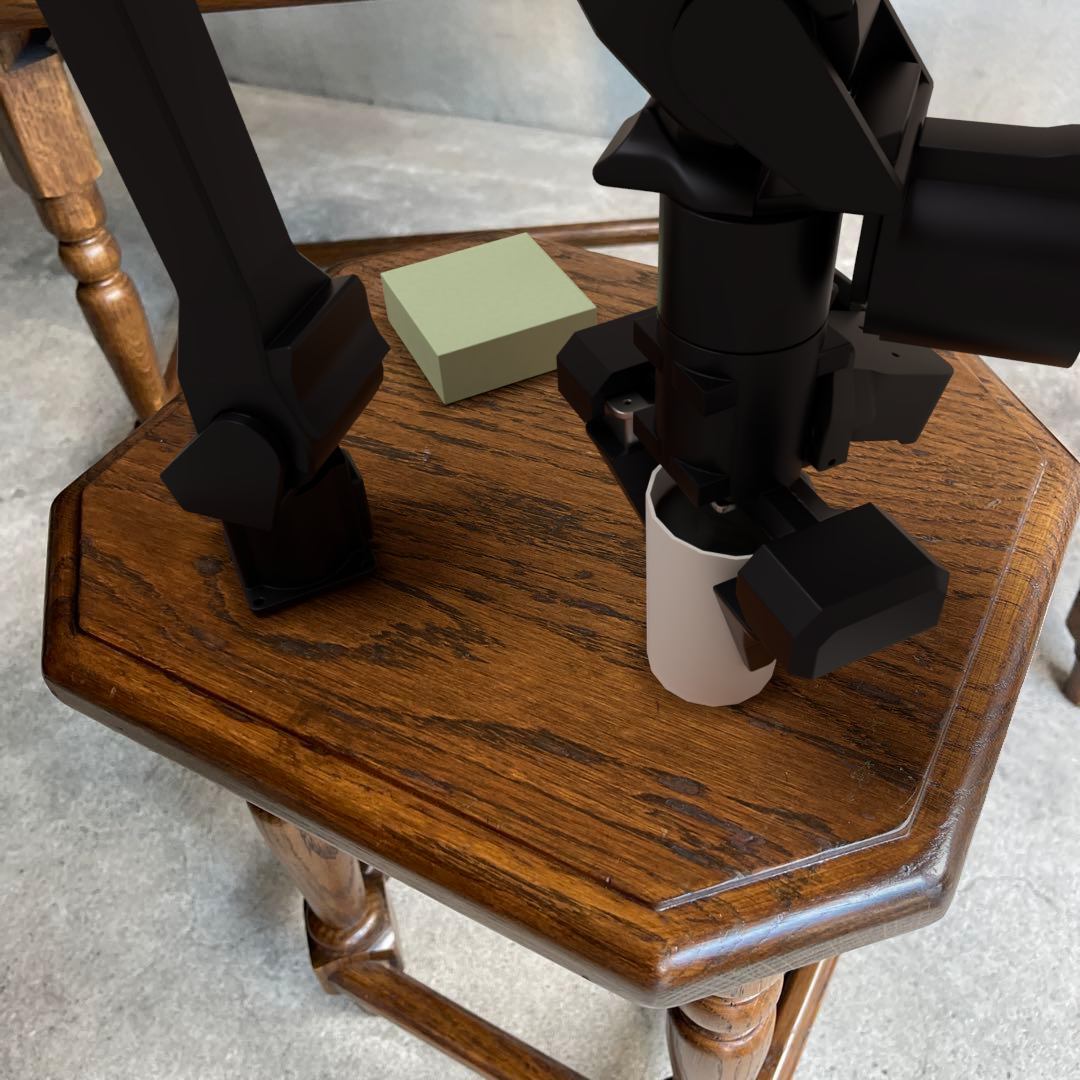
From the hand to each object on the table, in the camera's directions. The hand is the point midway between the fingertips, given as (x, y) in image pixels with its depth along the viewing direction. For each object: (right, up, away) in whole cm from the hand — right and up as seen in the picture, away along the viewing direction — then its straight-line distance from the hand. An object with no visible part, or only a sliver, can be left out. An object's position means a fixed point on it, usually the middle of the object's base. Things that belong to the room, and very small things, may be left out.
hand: (716, 611), depth 48 cm
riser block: (-11, +16, +21) cm, 28 cm away
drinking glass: (0, -2, +2) cm, 3 cm away
